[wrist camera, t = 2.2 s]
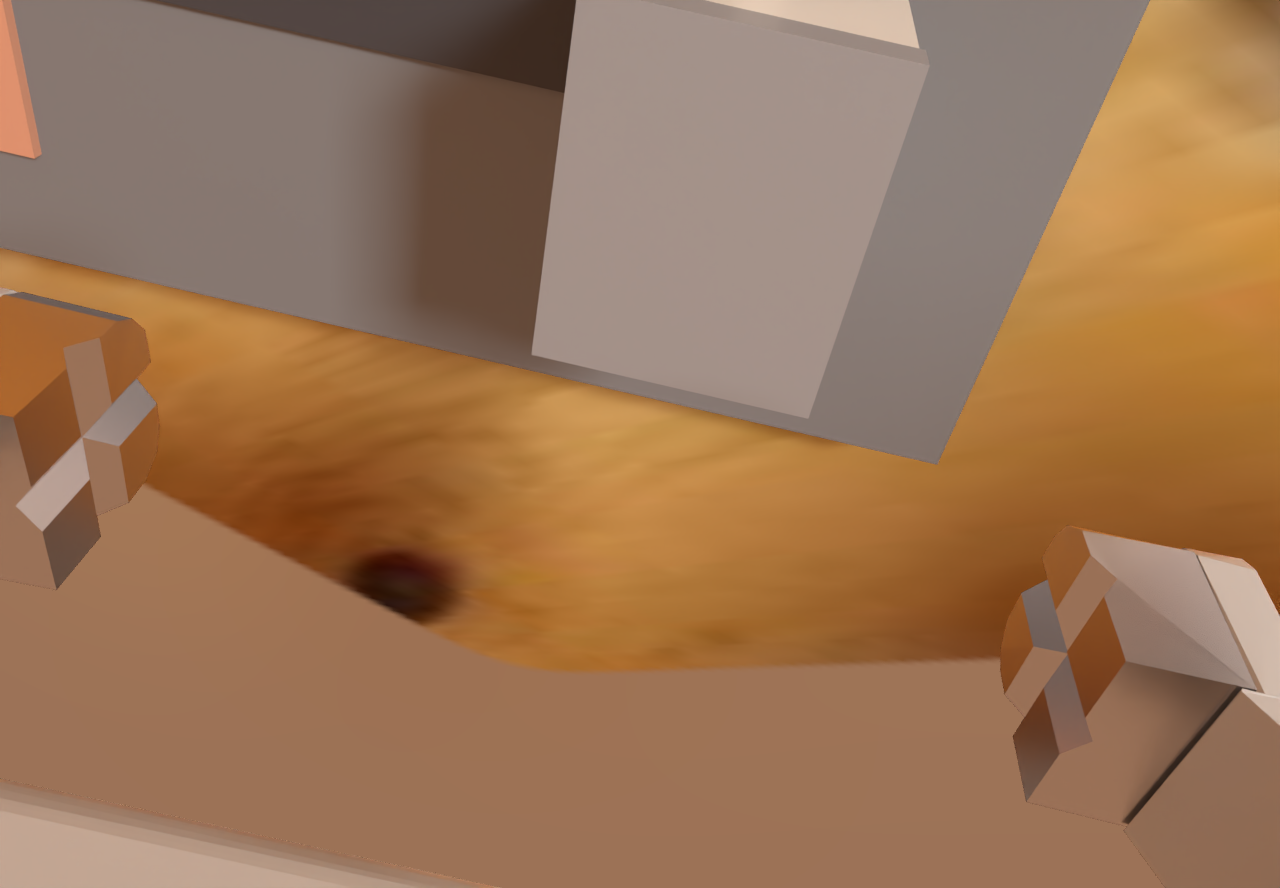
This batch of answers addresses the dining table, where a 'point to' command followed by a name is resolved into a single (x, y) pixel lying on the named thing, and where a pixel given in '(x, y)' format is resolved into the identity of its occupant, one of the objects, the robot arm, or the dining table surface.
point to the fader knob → (721, 187)
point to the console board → (508, 175)
